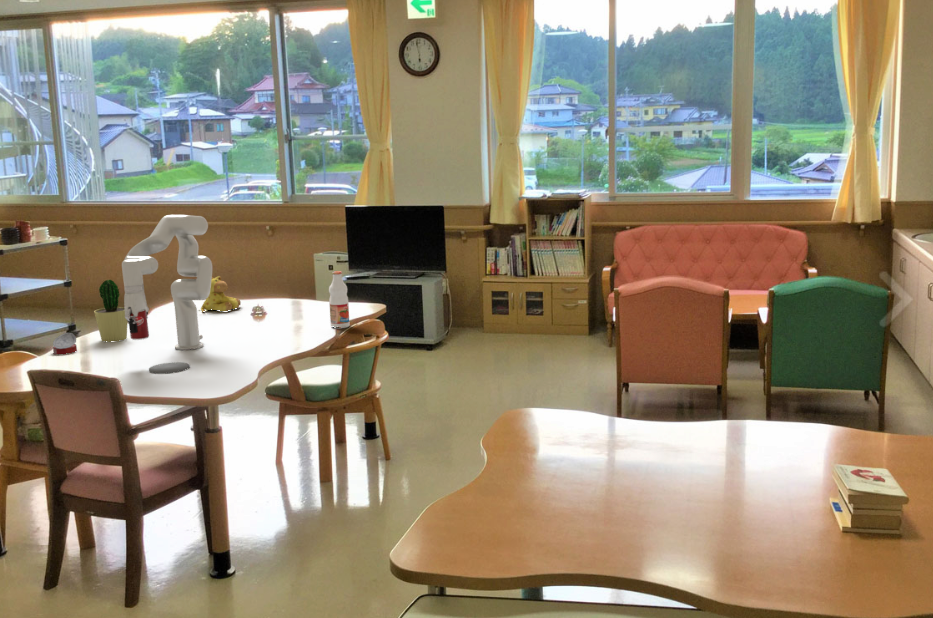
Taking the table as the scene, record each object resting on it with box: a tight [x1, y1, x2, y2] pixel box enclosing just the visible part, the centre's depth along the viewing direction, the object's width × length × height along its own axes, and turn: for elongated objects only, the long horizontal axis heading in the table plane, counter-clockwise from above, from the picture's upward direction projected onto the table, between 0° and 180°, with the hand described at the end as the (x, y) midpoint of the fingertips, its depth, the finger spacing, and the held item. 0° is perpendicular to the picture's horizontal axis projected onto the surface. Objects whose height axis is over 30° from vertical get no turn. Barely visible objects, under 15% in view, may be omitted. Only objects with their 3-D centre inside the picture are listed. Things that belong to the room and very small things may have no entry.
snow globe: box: [52, 332, 78, 355], centre depth 396 cm, size 11×10×10 cm
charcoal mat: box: [148, 361, 190, 374], centre depth 359 cm, size 16×16×1 cm
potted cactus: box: [93, 279, 128, 343], centre depth 418 cm, size 15×15×30 cm
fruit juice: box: [328, 270, 351, 329], centre depth 433 cm, size 9×9×28 cm
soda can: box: [129, 309, 150, 341], centre depth 363 cm, size 7×7×12 cm
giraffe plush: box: [200, 275, 242, 313], centre depth 493 cm, size 20×24×19 cm
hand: (139, 330), depth 363 cm, fingers closed on soda can, 7 cm apart
